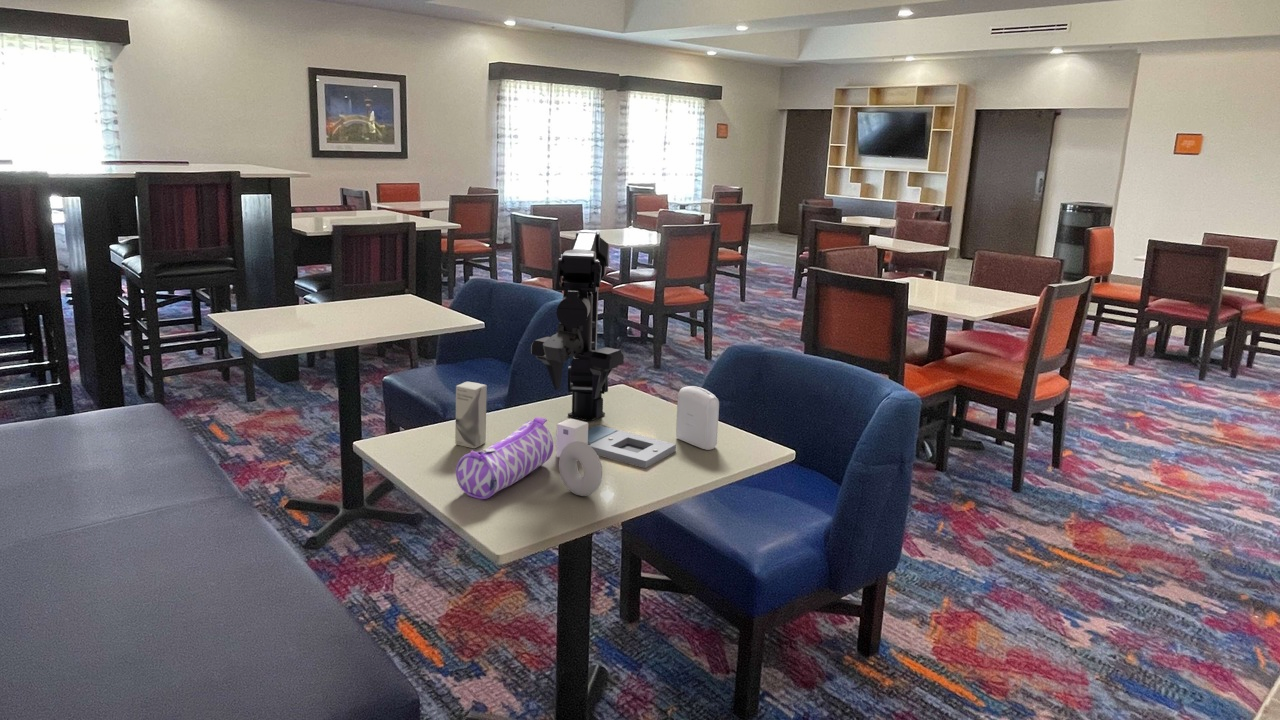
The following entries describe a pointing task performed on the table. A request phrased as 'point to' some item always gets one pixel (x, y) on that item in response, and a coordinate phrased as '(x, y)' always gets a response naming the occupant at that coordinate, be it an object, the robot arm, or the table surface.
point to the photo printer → (697, 417)
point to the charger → (570, 433)
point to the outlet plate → (633, 448)
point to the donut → (590, 467)
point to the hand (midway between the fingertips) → (575, 394)
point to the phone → (599, 433)
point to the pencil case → (505, 460)
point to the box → (470, 414)
